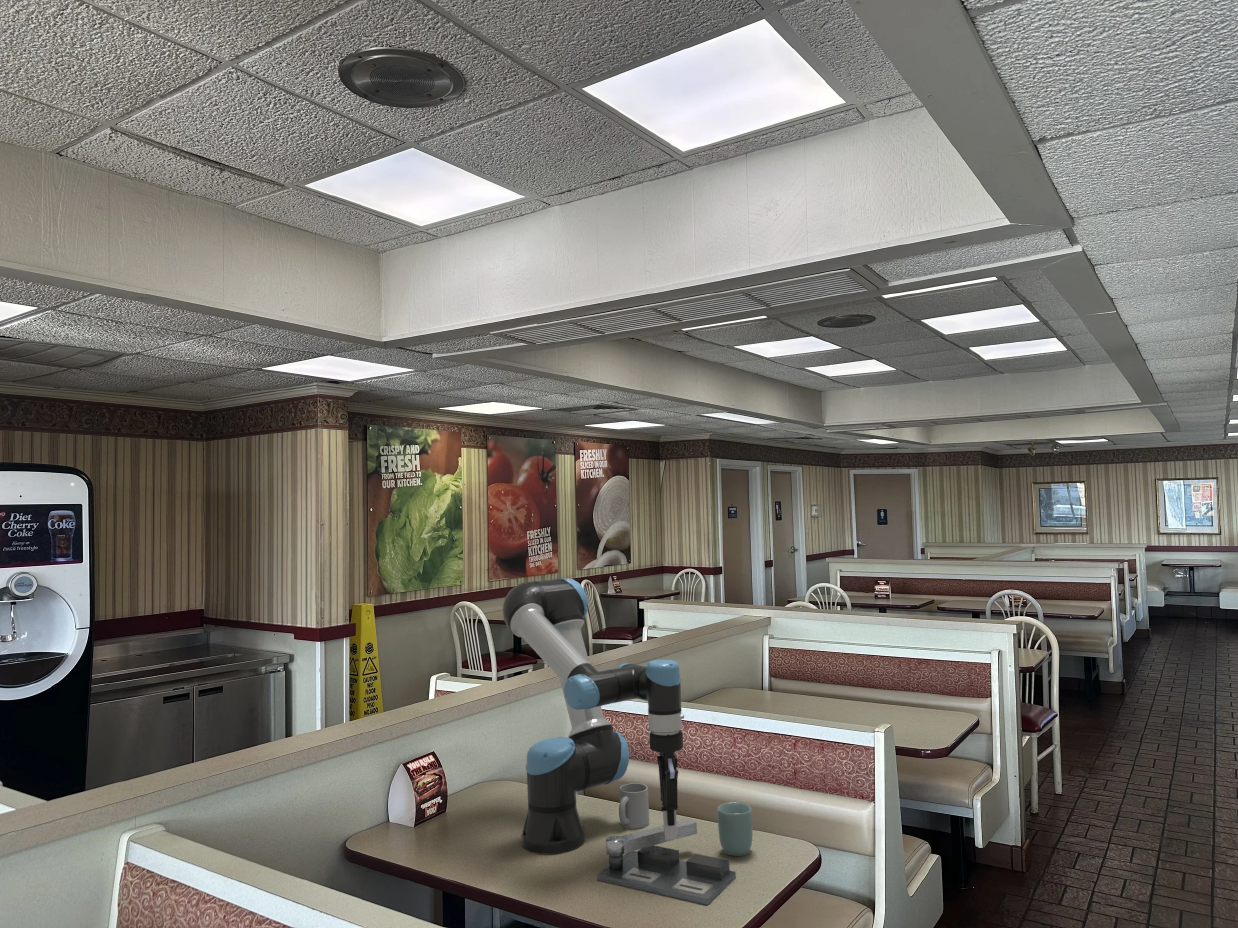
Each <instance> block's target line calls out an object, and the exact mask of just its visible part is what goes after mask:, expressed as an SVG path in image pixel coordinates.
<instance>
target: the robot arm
mask: <svg viewBox="0 0 1238 928" xmlns="http://www.w3.org/2000/svg"><path fill="white" fill-rule="evenodd" d="M588 601H589V600H588V596H587V593H586V591H585V589H584V588H583V586H582V585H581V583H580V582H578V581H576V580H575V579H572V578H559V577H558V578H553V579H547V580H544V579H543V580H534V581H524V582H521V583H518V584H516V585H515V586H513V588H511V589H510V590H509V592H508V593H507V595H506V596H505V598H504V600H503V604H502V616H503V621H504V623H505V624H506V626H507V628H508V629H509V630H510V632H512V633H513V635H515V636H517V637H518V638H522V639H523V640H524V641H525V642H526V643H527V645H529V647H530V648H532V650H534V652H535V653H536V654H537V655H538V656H539V658H541V659H542V661H544V663H545V664H546V666H548V667H549V668H550V669H551V671H552V672H553V673H554V674H556V676H557V677H558V678H559V681H560V685H561V689H562V693H563V694H562V695H563V698H564V701H565V706H566V710H567V713H568V717H569V720H570V725H571V730H570V732H569V734H568V736H557V737H549V738H546V739H543V740H539V741H538V742H535V743H534V744H533V745H532V746H531V747H530V748H529V749H528V751H527V753H526V764H525V771H526V782H527V783H526V785H527V789H526V790H527V804H528V805H527V809H528V810H527V814H526V818H525V821H524V825H523V827H522V828H523V829H522V832H521V846H522V847H523V848H524V849H525V850H526V851H529V852H531V853H535V854H544V855H546V854H547V855H551V854H552V855H553V854H562V853H566V852H570V851H572V850H575V849H578V848H579V847H580V846H582V845H583V844H584V843H585V839H586V837H585V828H584V826H583V824H582V820H581V817H580V812H579V810H578V808H577V793H578V792H581V791H584V790H588V789H592V788H596V787H599V786H603V785H609V784H611V783H613V782H616V781H619V780H620V779H621V778H623V777H624V775H625V774H626V772H627V770H628V767H629V763H630V750H629V745H628V741H627V739H626V738H625V737H624V735H623V734H622V733H621V732H617V731H614V726H613V724H612V723H611V722H610V721H609V720H607V719H606V718H605V716H604V713H603V710H602V709H603V708H602V706H606V705H610V704H611V705H612V704H616V703H622V702H626V701H631V700H635V699H636V700H637V699H638V700H642V701H646V702H647V707H648V708H647V714H648V715H647V716H648V717H647V719H648V721H647V722H648V730H649V731H650V732H649V735H648V736H649V748H650V749H651V750H652V751H653V752H655V753H656V752H657V753H659V755H657V756H656V760H657V765H658V776H659V779H658V780H659V788H660V802H661V805H662V807H660V809H661V812H662V816H663V817H662V818H663V825H664V838H665V840H672V841H674V840H673V839H675V840H678V839H677V823H676V822H677V810H678V809H679V807H678V806H679V805H678V779H679V770H678V769H677V767H678V758H677V757H676V755H675V752H678V751H680V750H682V749H683V748H684V737H683V736H684V734H683V731H682V729H683V721H682V720H684V719H685V715H684V714H683V713H682V693H681V692H682V691H681V690H682V689H681V687H682V686H681V684H682V683H681V682H682V678H681V674H680V673H681V672H680V666H679V663H678V662H677V661H675V660H672V659H654V660H650V661H648V662H647V663H646V665H645V666H644V665H639V664H635V663H625V662H624V663H621V664H620V665H618V666H617V667H615V668H612V669H606V670H601V671H599V670H597V669H596V667H594V666H593V665H592V664H591V663H590V661H589V657H588V653H587V648H586V646H585V641H584V638H583V633H582V628H583V625H584V624H585V620H584V618H585V617H586V616H587V613H588V610H589V608H588V606H589V602H588Z"/></svg>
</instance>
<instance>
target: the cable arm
mask: <svg viewBox="0 0 1238 928" xmlns="http://www.w3.org/2000/svg"><path fill="white" fill-rule="evenodd" d="M676 823H677V839H673V840H665V838H664V824H663V825H659V826H655V827H652V828H647V829H644V830H640V831H636V832H632V833H628V834H624V835H611V836H608V837H606V840H605V847H606V848H605V849H606V852H605V853H606V855H608V857H609V856H620V855H625V854H626V853H628V852H631V851H639V850H640V849H642V848H646V847H650V846H653V845H654V846H658V845H660V844H663V843H669V842H670V841H676V840H678V839H682V838H685V837H690V836H693V835H697V834H698V829H697V825H698V823H697V821H695V820H693V819H690V818H686V819H683V820H678V821H676Z"/></svg>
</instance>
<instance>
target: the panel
mask: <svg viewBox="0 0 1238 928" xmlns="http://www.w3.org/2000/svg"><path fill="white" fill-rule="evenodd" d="M608 862H609V865H608V866H607V867H605V868H604V869H602V870H601V871H600V872H599V873H597V881H600V882H605V883H609V884H612V885H613V884H614V885H616V886H617V885H618V886H623V887H626V888H631V889H635V890H640V891H642V892H643V891H644V892H648V893H653V894H656V895H661V896H666V897H670V898H674V899H678V900H679V899H680V900H683V901H686V902H687V901H688V902H691V903H696V904H701V905H704V906H705V905H706V906H708V905H710V904H711V903H712V902H713V901H714V900H715V899H716V898H717V897H718V896H719V895H720V894H721V893H722V892H723V891H724V890H725V889H726V888H727V887H728V886H729V885H730V884H731V883H732V882H733V881H734V880H735V879H736V878H737V876H736V875H737V873H736V871H734V870H731V869H730V860H728V859H725V858H724V859H723V858H719V857H714V856H709V855H704V854H700V853H694V854H693V855H692V856H691V857H689V859H687V860H686V861H685V860H680V850H677V849H674V848H670V847H669V848H667V847H665V846H658V845H653V846H650V847H646V848H642V849H638V850H635V851H631V852H627V853H624V854H623V855H620V856H609V855H608Z"/></svg>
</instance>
